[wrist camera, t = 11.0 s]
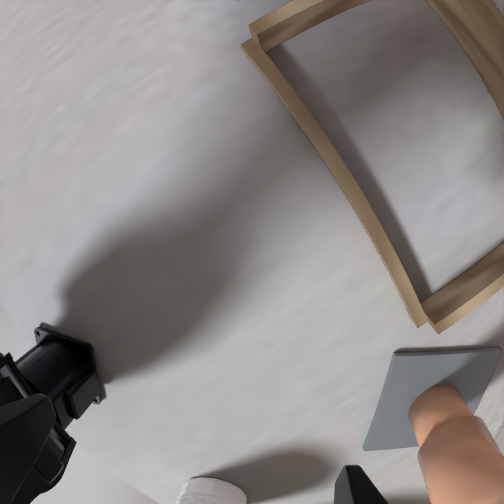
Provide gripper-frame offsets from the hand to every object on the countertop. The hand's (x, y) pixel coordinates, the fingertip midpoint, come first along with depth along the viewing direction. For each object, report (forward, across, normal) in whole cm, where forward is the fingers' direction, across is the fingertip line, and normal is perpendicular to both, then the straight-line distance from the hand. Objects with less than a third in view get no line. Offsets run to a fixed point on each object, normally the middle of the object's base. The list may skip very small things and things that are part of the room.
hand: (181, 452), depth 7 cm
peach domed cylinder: (+12, -16, +8) cm, 22 cm away
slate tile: (+13, -16, +8) cm, 22 cm away
